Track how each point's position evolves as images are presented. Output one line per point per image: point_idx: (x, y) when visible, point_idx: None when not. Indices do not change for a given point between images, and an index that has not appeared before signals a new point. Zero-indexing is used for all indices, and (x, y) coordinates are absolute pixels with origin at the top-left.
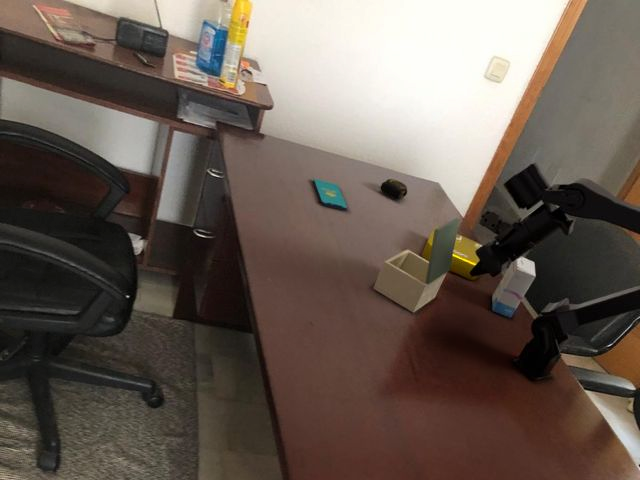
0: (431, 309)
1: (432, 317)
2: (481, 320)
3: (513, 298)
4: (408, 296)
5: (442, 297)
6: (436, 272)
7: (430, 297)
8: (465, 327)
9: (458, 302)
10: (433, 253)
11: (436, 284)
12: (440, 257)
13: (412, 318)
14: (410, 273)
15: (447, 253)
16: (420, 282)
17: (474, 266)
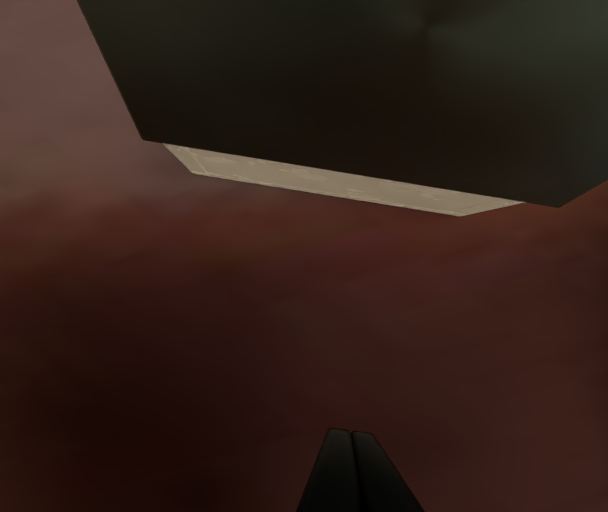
0: (325, 239)
1: (248, 268)
2: (478, 488)
3: None
4: None
5: (512, 248)
6: (269, 129)
7: (381, 199)
8: (319, 438)
9: (545, 334)
10: None
11: (400, 186)
12: (315, 47)
13: (134, 187)
14: None
15: (527, 85)
16: None
17: (299, 507)
